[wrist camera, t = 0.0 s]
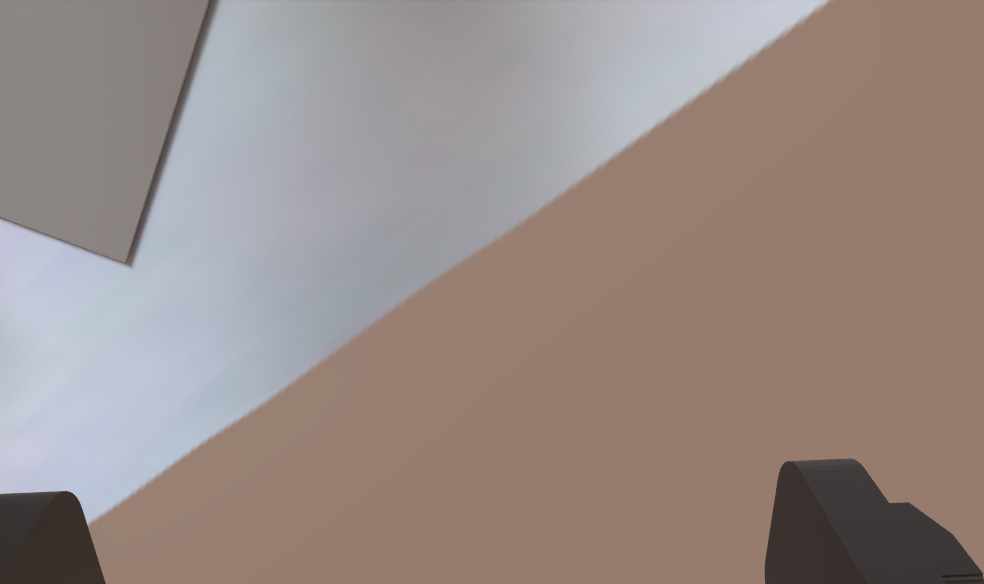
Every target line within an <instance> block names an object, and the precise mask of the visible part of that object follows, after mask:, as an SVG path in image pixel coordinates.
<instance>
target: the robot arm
mask: <svg viewBox="0 0 984 584" xmlns="http://www.w3.org/2000/svg"><path fill="white" fill-rule="evenodd" d="M0 584H106V583H105V580H104V577H103V574H102V571H101V567H100V565H99V561H98V558H97V555H96V551H95V549H94V545H93V542H92V539H91V536H90V532H89V529H88V526H87V523H86V520H85V516H84V513H83V510H82V507H81V504H80V502H79V500H78V499H77V497H76V496H75V495H74V494H73V493H71V492H68V491H58V492H35V493H12V494H0ZM765 584H984V579H983V573H982V572H981V570H980V569H979V568H978V567H977V565H976V564H975V563H974V561H973V560H972V559H971V557H970V556H969V555H968V554H967V552H966V551H965V550H964V548H963V547H962V546H961V545H960V543H959V542H958V541H957V539H956V538H955V537H954V535H953V534H951V533H950V532H948V531H947V530H946V529H945V528H943V527H942V526H940V525H939V524H938V523H936V522H935V521H934V520H932V519H931V518H929V517H928V516H927V515H925V514H924V513H922V512H921V511H920V510H918V509H917V508H915V507H914V506H913V505H911V504H910V503H909V502H908V503H889V502H888V501H887V500H886V498H885V497H884V495H883V494H882V492H881V491H880V490H879V488H878V487H877V485H876V484H875V483H874V481H873V480H872V478H871V477H870V476H869V474H868V473H867V471H866V470H865V469H864V467H863V466H862V465H861V464H860V463H859V462H858V461H856V460H854V459H831V460H830V459H829V460H808V461H787V462H785V463H784V464H783V465H782V467H781V469H780V472H779V476H778V482H777V488H776V495H775V502H774V508H773V514H772V521H771V528H770V534H769V540H768V547H767V554H766V560H765Z"/></svg>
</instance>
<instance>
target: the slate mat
mask: <svg viewBox="0 0 984 584" xmlns="http://www.w3.org/2000/svg"><path fill="white" fill-rule="evenodd" d="M209 3H210V0H0V217H2V218H4V219H7V220H10V221H12V222H15V223H18V224H21V225H23V226H26V227H29V228H31V229H34V230H37V231H40V232H42V233H45V234H48V235H50V236H53V237H56V238H59V239H61V240H64V241H67V242H69V243H72V244H75V245H78V246H80V247H83V248H86V249H88V250H91V251H94V252H97V253H99V254H102V255H105V256H107V257H110V258H113V259H116V260H118V261H121V262H124V263H125V262H126V261H127V259H128V257H129V254H130V251H131V248H132V245H133V241H134V238H135V235H136V232H137V229H138V226H139V223H140V219H141V216H142V213H143V210H144V207H145V204H146V201H147V197H148V194H149V191H150V188H151V185H152V182H153V179H154V176H155V172H156V169H157V166H158V163H159V160H160V157H161V154H162V150H163V147H164V144H165V141H166V138H167V135H168V132H169V128H170V125H171V122H172V119H173V116H174V113H175V110H176V107H177V103H178V100H179V97H180V94H181V91H182V88H183V85H184V81H185V78H186V75H187V72H188V69H189V66H190V63H191V60H192V56H193V53H194V50H195V47H196V44H197V41H198V38H199V34H200V31H201V28H202V25H203V22H204V19H205V16H206V12H207V9H208V6H209Z"/></svg>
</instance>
